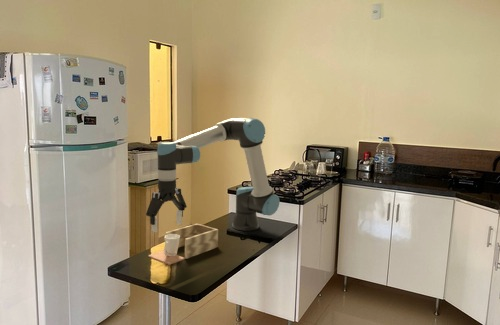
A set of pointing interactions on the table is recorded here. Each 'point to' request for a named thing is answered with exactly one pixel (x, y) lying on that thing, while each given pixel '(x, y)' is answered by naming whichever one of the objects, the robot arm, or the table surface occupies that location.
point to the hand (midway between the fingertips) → (167, 228)
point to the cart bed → (196, 239)
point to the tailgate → (166, 258)
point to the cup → (171, 244)
